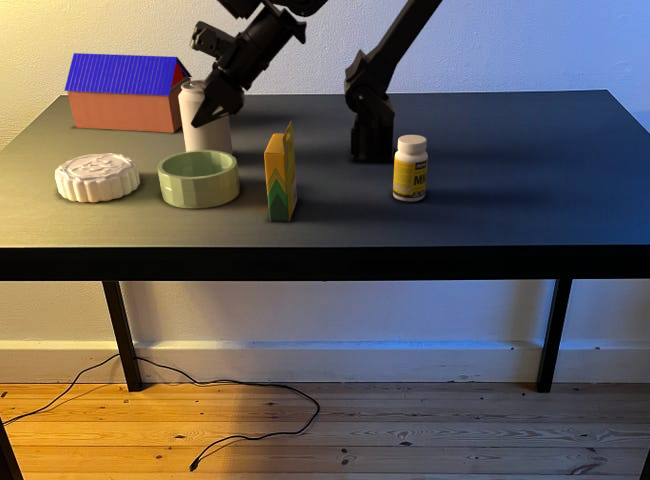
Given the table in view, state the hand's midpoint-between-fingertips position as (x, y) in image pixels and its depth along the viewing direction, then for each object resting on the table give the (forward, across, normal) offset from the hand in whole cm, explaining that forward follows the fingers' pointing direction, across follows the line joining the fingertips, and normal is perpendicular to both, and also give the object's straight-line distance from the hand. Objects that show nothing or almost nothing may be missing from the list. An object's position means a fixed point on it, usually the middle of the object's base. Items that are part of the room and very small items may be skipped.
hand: (196, 118), depth 109 cm
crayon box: (-6, +21, +15) cm, 26 cm away
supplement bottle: (-18, +16, +28) cm, 37 cm away
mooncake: (+15, +11, -5) cm, 19 cm away
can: (+4, 0, +6) cm, 7 cm away
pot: (+3, +14, +6) cm, 16 cm away
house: (+16, -21, -6) cm, 27 cm away
